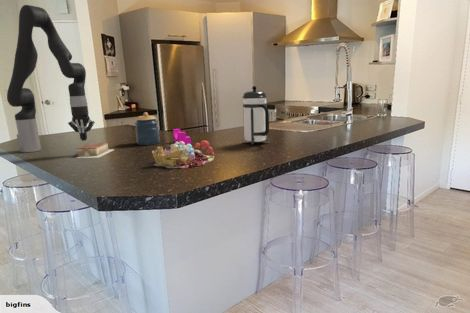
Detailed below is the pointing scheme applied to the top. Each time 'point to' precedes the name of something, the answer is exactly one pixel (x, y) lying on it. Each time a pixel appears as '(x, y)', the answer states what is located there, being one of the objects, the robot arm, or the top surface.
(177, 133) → the toy block
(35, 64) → the robot arm
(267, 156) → the top surface
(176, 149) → the candy landscape model
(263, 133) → the coffee press
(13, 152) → the top surface
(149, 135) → the canister
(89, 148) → the birch tile
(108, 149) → the mat
